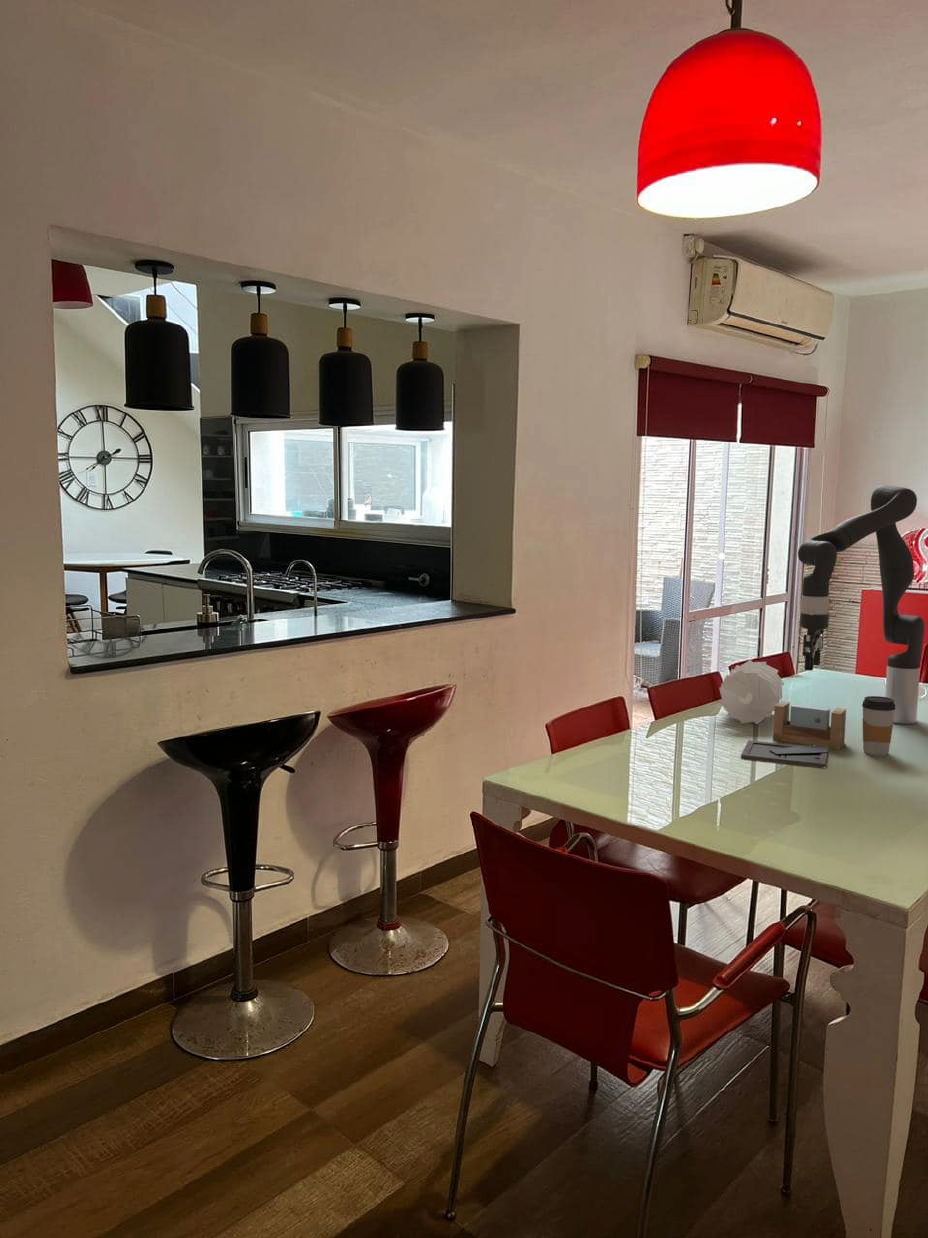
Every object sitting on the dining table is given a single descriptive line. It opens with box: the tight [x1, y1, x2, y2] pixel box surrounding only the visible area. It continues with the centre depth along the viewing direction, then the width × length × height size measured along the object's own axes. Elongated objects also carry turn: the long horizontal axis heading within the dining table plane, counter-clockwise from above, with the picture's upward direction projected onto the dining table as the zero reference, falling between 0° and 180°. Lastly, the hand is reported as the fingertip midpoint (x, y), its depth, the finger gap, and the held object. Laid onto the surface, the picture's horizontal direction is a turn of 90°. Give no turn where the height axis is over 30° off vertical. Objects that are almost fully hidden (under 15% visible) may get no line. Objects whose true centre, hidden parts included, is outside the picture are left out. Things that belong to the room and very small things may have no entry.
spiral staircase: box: [718, 659, 785, 725], centre depth 285 cm, size 18×18×25 cm
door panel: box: [789, 704, 831, 731], centre depth 258 cm, size 4×10×8 cm, turn 56°
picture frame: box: [740, 739, 829, 768], centre depth 245 cm, size 16×2×21 cm
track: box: [772, 700, 847, 750], centre depth 258 cm, size 7×18×10 cm, turn 56°
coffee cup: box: [861, 695, 896, 757], centre depth 246 cm, size 8×8×15 cm
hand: (812, 667), depth 258 cm, fingers open, 8 cm apart
